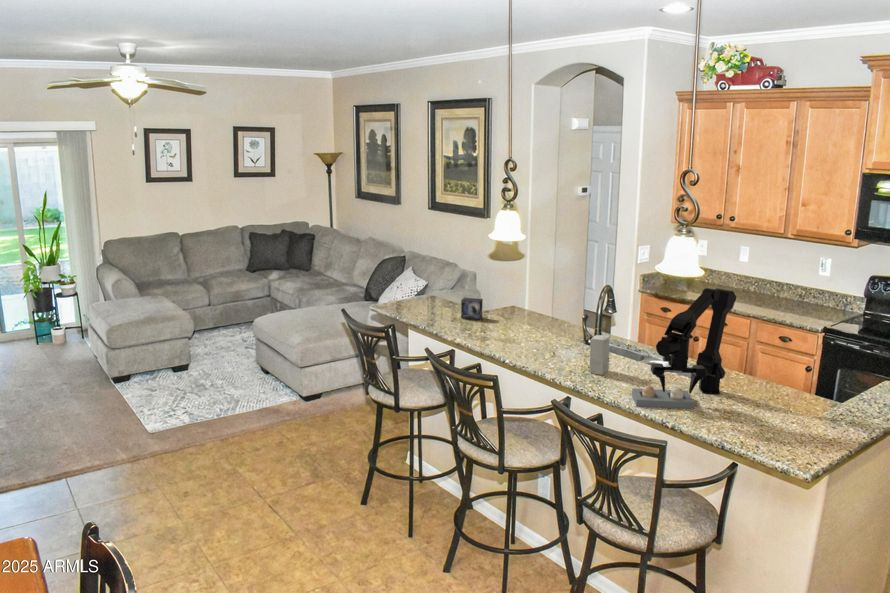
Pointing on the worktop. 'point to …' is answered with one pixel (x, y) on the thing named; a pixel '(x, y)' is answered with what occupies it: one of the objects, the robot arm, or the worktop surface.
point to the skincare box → (599, 354)
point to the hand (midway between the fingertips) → (676, 392)
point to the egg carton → (660, 398)
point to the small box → (471, 308)
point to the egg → (676, 393)
